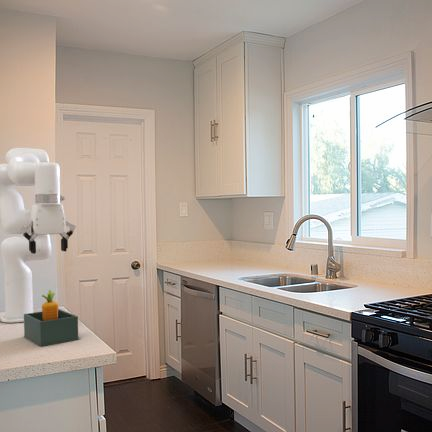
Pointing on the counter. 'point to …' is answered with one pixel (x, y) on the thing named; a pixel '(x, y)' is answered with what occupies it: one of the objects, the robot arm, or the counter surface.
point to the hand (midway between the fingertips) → (48, 252)
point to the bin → (51, 328)
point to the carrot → (49, 307)
